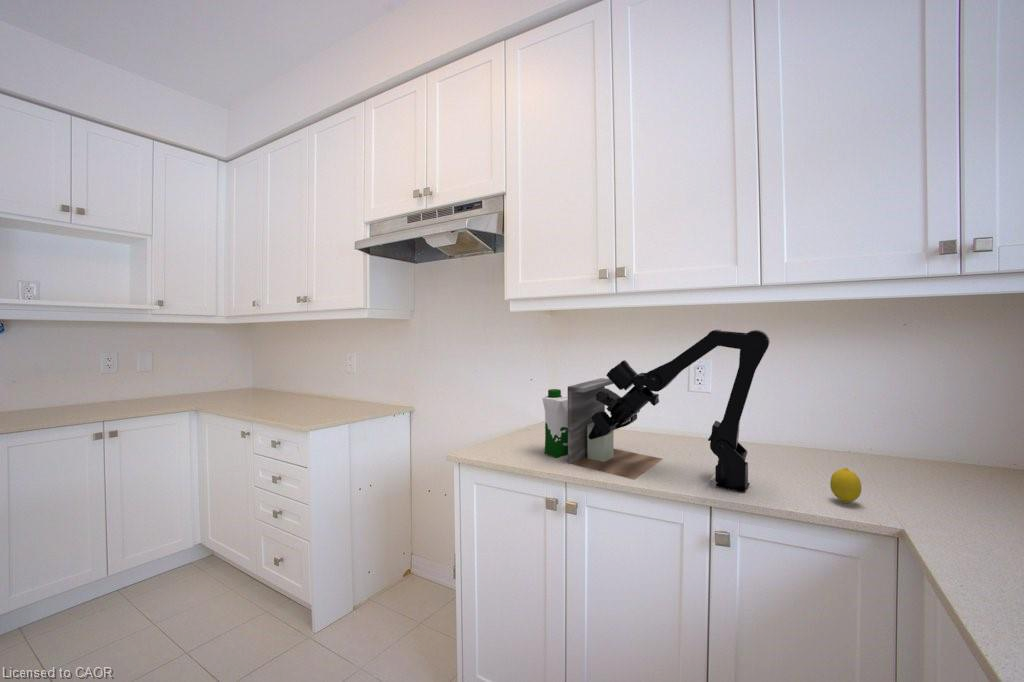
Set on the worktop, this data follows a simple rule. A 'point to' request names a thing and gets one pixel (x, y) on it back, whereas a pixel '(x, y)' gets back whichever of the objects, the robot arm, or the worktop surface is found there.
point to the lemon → (845, 485)
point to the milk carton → (556, 423)
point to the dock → (579, 417)
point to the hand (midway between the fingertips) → (597, 434)
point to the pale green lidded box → (600, 446)
